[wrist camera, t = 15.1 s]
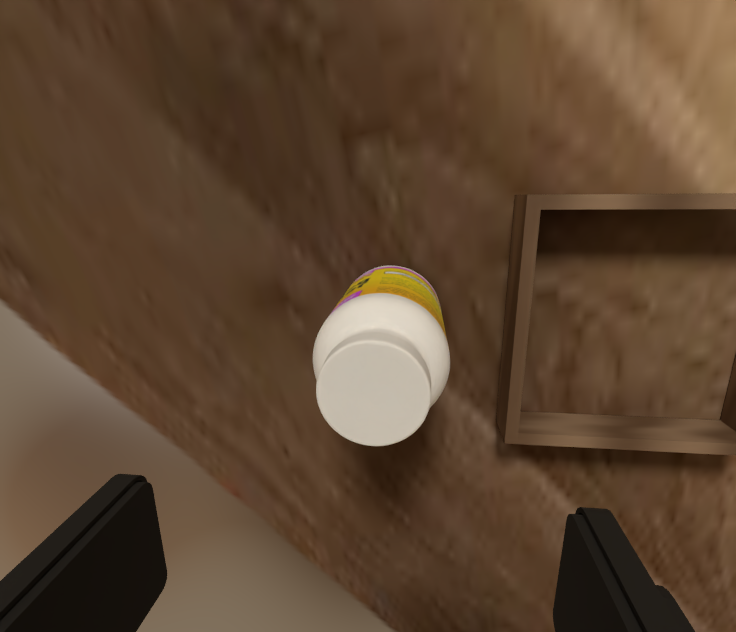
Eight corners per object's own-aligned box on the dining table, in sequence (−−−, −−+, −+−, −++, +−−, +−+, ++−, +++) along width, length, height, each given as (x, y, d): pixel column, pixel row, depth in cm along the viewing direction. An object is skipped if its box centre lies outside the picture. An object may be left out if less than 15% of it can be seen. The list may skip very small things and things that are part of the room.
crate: (789, 193, 25) (839, 192, 22) (730, 431, 29) (764, 456, 26) (514, 195, 26) (527, 194, 23) (495, 420, 31) (504, 443, 28)
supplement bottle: (372, 245, 28) (338, 282, 16) (458, 294, 28) (492, 368, 16) (327, 328, 30) (266, 419, 18) (408, 373, 30) (404, 494, 18)
